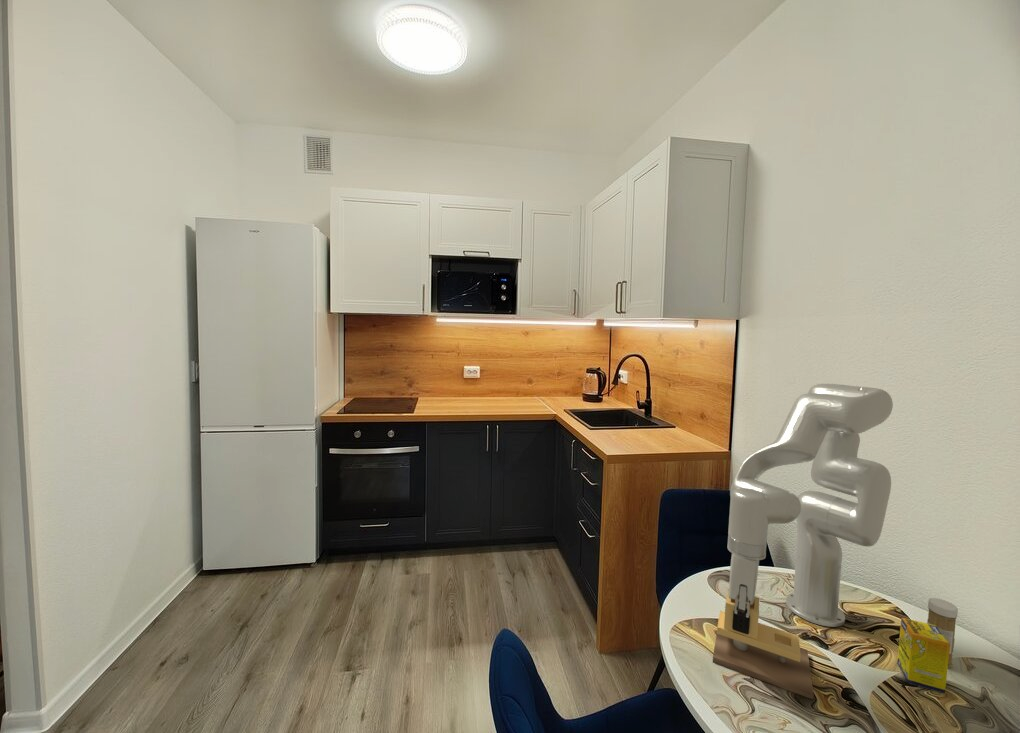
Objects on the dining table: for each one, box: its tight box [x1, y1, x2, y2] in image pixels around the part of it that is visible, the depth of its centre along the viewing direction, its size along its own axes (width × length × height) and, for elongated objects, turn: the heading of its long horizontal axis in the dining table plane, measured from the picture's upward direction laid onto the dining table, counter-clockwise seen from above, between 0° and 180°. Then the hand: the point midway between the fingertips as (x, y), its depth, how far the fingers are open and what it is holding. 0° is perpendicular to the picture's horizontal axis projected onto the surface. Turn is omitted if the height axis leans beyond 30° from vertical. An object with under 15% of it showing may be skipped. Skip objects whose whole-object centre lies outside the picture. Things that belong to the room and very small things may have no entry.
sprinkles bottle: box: [926, 597, 959, 668], centre depth 94 cm, size 5×5×14 cm
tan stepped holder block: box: [716, 588, 801, 662], centre depth 94 cm, size 16×7×8 cm, turn 59°
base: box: [712, 633, 814, 700], centre depth 94 cm, size 14×18×5 cm
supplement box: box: [896, 617, 950, 694], centre depth 89 cm, size 6×6×11 cm
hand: (741, 621), depth 95 cm, fingers closed on tan stepped holder block, 6 cm apart
